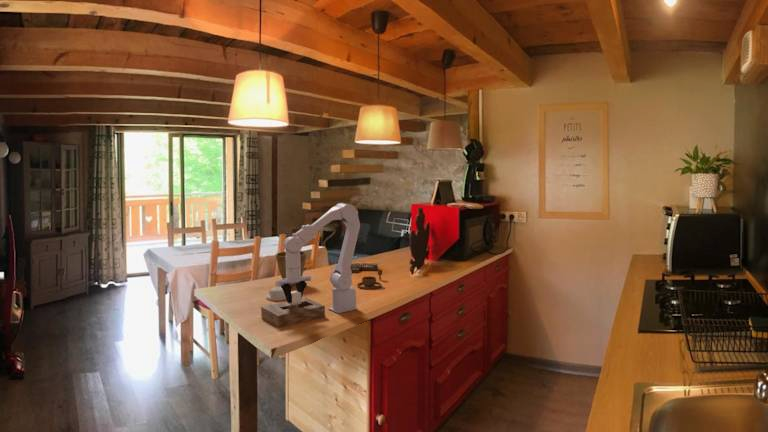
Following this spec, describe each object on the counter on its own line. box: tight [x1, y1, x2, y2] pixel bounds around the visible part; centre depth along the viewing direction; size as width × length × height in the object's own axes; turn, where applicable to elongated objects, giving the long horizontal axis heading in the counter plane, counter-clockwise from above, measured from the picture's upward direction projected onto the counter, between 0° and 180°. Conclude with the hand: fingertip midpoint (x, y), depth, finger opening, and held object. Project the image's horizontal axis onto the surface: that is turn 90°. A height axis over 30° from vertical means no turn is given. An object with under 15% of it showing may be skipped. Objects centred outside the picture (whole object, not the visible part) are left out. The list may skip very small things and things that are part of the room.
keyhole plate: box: [260, 297, 326, 328], centre depth 189 cm, size 20×15×4 cm
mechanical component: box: [266, 286, 286, 302], centre depth 217 cm, size 10×4×10 cm
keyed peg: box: [288, 290, 302, 308], centre depth 189 cm, size 5×5×8 cm
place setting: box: [356, 269, 386, 291], centre depth 239 cm, size 18×20×6 cm
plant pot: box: [275, 250, 307, 287], centre depth 241 cm, size 15×15×16 cm
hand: (294, 301), depth 189 cm, fingers closed on keyed peg, 4 cm apart
